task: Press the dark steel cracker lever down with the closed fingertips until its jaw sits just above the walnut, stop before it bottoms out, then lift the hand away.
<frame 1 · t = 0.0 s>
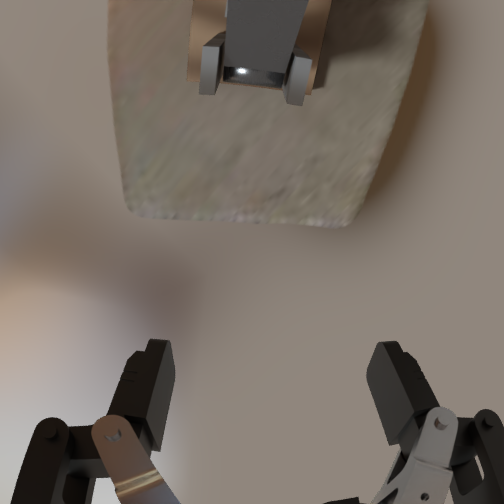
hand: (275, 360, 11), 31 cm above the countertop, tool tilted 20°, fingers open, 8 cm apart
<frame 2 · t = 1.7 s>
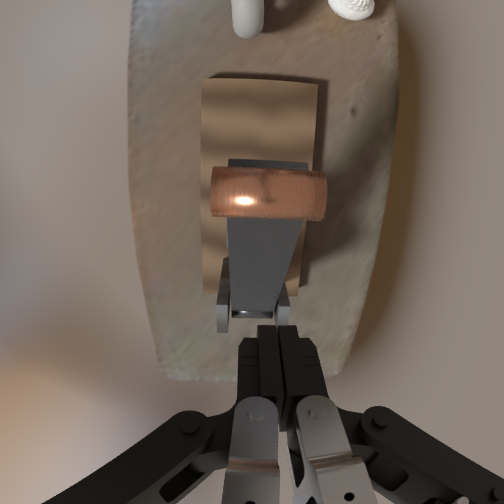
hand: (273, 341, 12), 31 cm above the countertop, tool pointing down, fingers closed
donut: (246, 14, 30), on the countertop
white rounded bulbous piece: (343, 7, 29), on the countertop
cracker base: (254, 192, 41), on the countertop
cracker lever: (257, 256, 28), point 15 cm above the countertop, hinge at 35.0°
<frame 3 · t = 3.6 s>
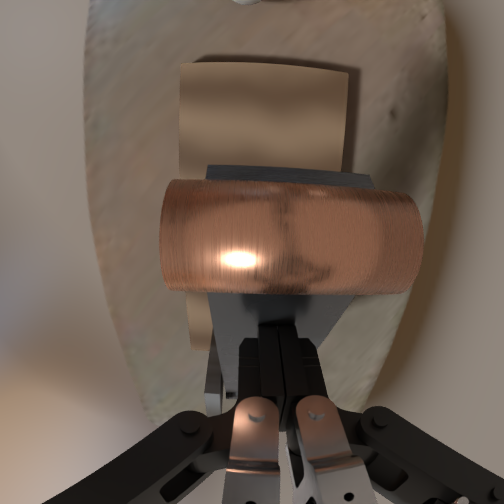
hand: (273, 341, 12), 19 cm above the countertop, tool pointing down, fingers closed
cracker base: (257, 224, 30), on the countertop
cracker lever: (262, 330, 18), point 14 cm above the countertop, hinge at 27.8°
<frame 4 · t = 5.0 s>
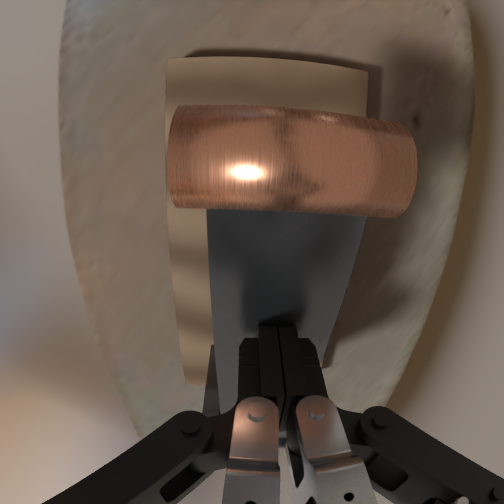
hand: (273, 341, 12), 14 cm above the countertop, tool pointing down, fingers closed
cracker base: (258, 249, 26), on the countertop
cracker lever: (264, 345, 16), point 11 cm above the countertop, hinge at 10.8°, touching gripper
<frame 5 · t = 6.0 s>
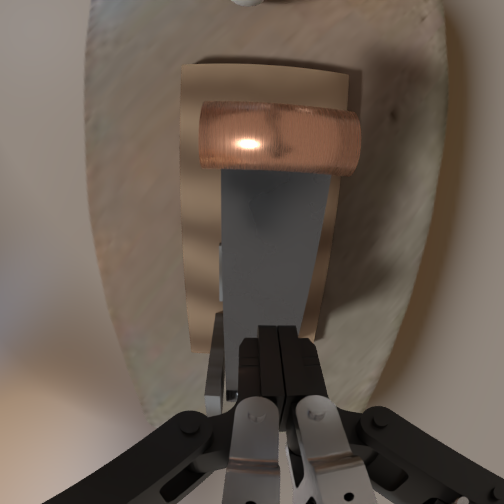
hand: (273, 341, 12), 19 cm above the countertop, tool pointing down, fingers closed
cracker base: (257, 226, 30), on the countertop
cracker lever: (262, 293, 20), point 11 cm above the countertop, hinge at 10.8°
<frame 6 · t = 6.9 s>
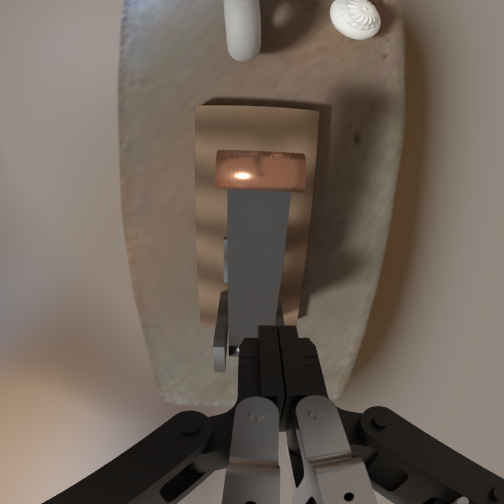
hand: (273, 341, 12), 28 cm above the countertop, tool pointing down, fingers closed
donut: (242, 32, 29), on the countertop
white rounded bulbous piece: (346, 24, 29), on the countertop
cracker base: (252, 225, 39), on the countertop
cracker lever: (253, 269, 30), point 11 cm above the countertop, hinge at 10.8°
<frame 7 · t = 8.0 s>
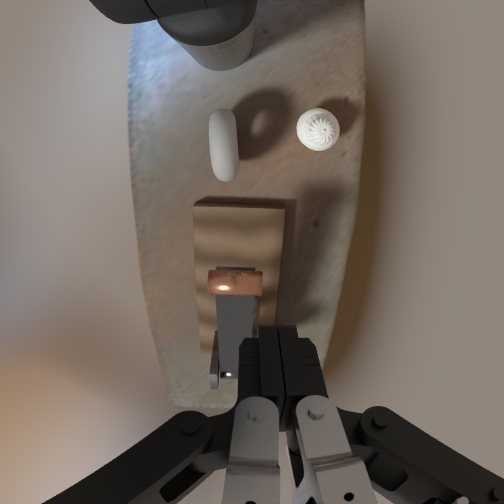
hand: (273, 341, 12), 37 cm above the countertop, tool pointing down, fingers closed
donut: (227, 141, 44), on the countertop
white rounded bulbous piece: (312, 127, 43), on the countertop
cracker base: (237, 285, 54), on the countertop
cracker lever: (235, 328, 44), point 11 cm above the countertop, hinge at 10.8°
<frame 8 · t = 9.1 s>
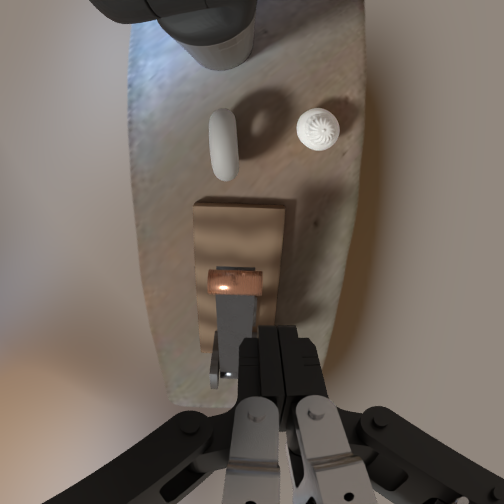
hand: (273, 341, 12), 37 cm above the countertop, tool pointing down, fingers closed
donut: (227, 141, 44), on the countertop
white rounded bulbous piece: (312, 127, 43), on the countertop
cracker base: (237, 285, 54), on the countertop
cracker lever: (235, 328, 45), point 11 cm above the countertop, hinge at 10.8°
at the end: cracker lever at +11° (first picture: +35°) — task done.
